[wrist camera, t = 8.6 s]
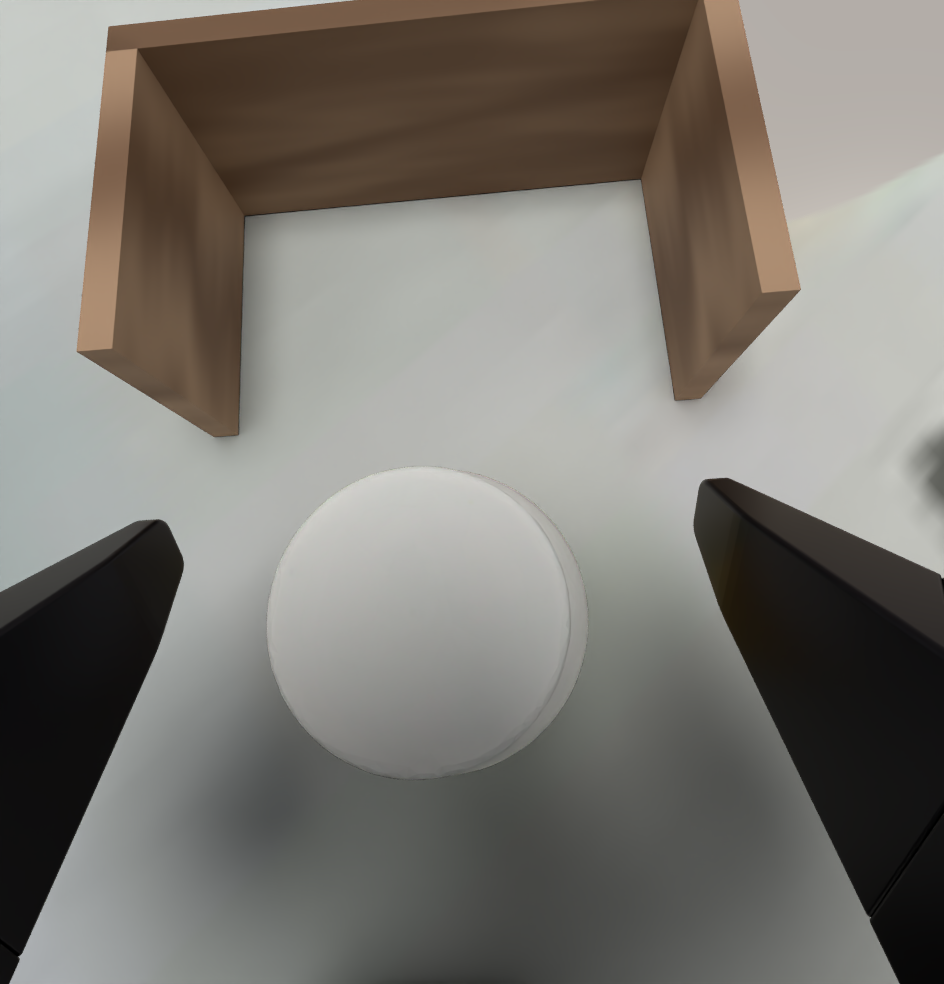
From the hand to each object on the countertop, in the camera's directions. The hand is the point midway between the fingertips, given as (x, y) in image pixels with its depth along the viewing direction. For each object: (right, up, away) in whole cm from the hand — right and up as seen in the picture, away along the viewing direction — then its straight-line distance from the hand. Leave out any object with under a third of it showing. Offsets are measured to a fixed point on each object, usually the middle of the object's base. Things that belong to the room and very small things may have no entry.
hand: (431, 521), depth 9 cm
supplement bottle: (0, -3, +7) cm, 8 cm away
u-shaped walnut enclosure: (0, +7, +9) cm, 12 cm away
